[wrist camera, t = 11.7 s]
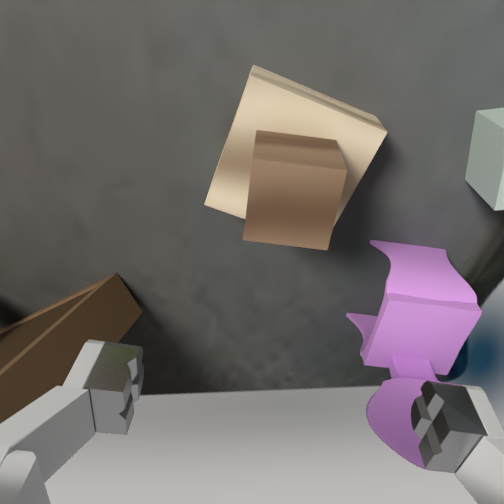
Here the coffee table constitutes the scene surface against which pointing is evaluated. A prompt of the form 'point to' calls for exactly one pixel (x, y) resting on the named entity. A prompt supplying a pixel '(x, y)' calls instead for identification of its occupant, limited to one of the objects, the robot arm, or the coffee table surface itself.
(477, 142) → the grey-green cube
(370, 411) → the toy chair
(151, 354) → the coffee table surface
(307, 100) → the beech block
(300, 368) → the coffee table surface
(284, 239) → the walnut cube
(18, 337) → the photo frame
